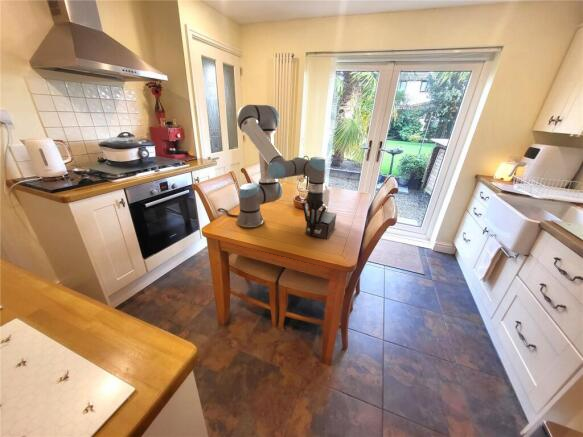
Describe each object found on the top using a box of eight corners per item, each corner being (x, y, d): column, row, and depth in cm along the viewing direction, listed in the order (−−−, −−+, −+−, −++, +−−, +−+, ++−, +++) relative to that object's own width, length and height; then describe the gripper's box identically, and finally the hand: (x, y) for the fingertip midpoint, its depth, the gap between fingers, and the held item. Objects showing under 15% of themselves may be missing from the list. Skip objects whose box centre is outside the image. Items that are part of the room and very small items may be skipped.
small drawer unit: (327, 239, 127) (328, 223, 123) (305, 233, 132) (306, 218, 127) (334, 228, 139) (336, 213, 135) (314, 223, 144) (315, 209, 139)
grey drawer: (322, 242, 122) (324, 229, 119) (302, 237, 126) (303, 224, 123) (332, 228, 137) (334, 216, 133) (314, 224, 141) (315, 212, 137)
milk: (320, 220, 148) (323, 187, 138) (313, 217, 152) (316, 184, 143) (327, 218, 151) (330, 185, 142) (320, 214, 156) (323, 183, 146)
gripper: (300, 190, 110) (297, 234, 120) (326, 195, 105) (321, 240, 115) (305, 186, 116) (303, 228, 126) (331, 191, 111) (326, 234, 122)
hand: (312, 234), depth 121 cm, fingers closed
